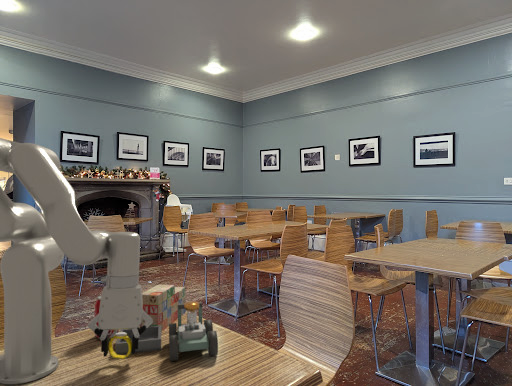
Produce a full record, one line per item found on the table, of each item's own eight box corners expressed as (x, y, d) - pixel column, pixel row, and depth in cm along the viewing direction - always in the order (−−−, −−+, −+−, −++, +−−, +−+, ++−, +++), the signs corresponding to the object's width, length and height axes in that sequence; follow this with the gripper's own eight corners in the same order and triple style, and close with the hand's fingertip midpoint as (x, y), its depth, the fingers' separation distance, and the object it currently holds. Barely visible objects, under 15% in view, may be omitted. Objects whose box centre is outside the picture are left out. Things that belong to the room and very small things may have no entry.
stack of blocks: (170, 311, 127) (170, 278, 127) (186, 312, 125) (185, 278, 126) (139, 333, 106) (139, 293, 106) (158, 335, 104) (158, 294, 105)
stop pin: (185, 337, 91) (184, 306, 91) (184, 331, 95) (183, 302, 95) (200, 335, 92) (199, 304, 92) (198, 330, 96) (198, 300, 96)
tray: (115, 355, 91) (115, 344, 91) (120, 339, 101) (120, 329, 101) (161, 350, 94) (161, 339, 94) (161, 335, 104) (161, 325, 104)
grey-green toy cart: (170, 365, 85) (169, 322, 85) (169, 341, 99) (168, 304, 99) (218, 359, 88) (217, 317, 88) (210, 336, 102) (210, 301, 103)
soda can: (124, 334, 105) (124, 295, 105) (103, 342, 99) (103, 300, 99) (110, 329, 109) (110, 292, 109) (89, 337, 103) (89, 297, 103)
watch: (133, 357, 87) (135, 334, 87) (127, 362, 84) (129, 338, 84) (111, 353, 88) (114, 330, 88) (105, 357, 85) (107, 334, 85)
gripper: (82, 285, 81) (78, 363, 80) (158, 283, 85) (155, 356, 85) (89, 278, 88) (85, 349, 87) (158, 277, 92) (155, 344, 92)
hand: (119, 352), depth 86 cm, fingers closed on watch, 5 cm apart
